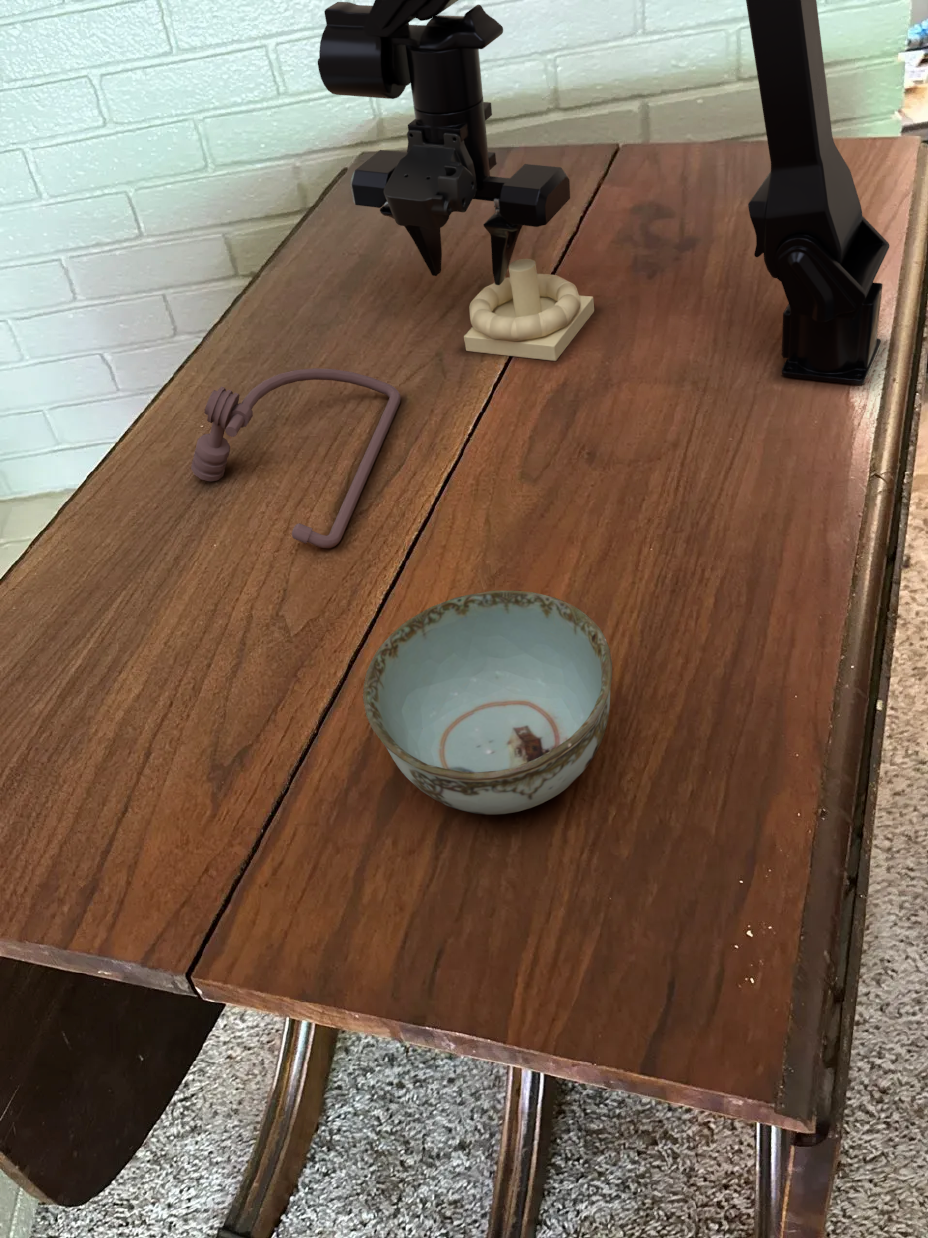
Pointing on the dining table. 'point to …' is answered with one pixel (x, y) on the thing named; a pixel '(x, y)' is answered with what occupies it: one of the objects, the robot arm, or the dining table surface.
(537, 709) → the bowl
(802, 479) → the dining table surface
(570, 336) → the peg stand
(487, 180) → the robot arm
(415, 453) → the dining table surface
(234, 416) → the toilet paper hanger
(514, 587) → the dining table surface
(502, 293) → the ring
